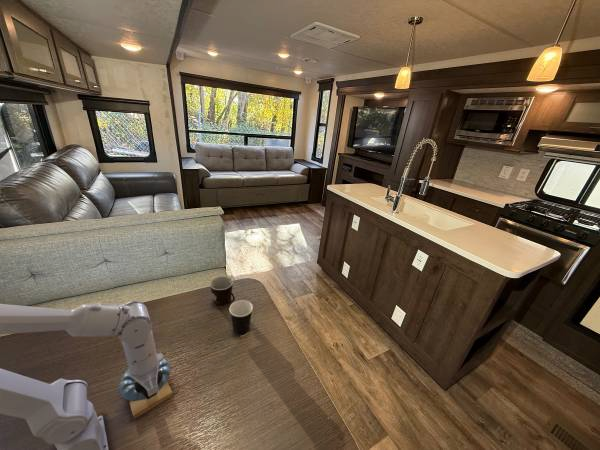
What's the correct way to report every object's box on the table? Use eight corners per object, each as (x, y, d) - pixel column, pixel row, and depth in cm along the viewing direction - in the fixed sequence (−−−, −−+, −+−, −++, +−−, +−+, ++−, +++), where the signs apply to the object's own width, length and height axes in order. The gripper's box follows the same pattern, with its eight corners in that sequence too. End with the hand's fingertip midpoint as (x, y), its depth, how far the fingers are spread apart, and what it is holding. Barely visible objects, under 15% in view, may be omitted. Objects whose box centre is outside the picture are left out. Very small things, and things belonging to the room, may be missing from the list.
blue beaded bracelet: (176, 382, 65) (175, 375, 64) (126, 414, 57) (124, 406, 56) (162, 354, 72) (160, 347, 71) (116, 379, 65) (113, 371, 63)
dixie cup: (254, 337, 86) (255, 313, 82) (231, 343, 83) (230, 318, 79) (250, 321, 93) (250, 298, 89) (228, 325, 90) (227, 302, 86)
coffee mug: (210, 298, 102) (208, 278, 98) (231, 294, 106) (230, 274, 102) (213, 318, 93) (212, 297, 89) (236, 312, 96) (236, 292, 92)
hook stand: (172, 395, 67) (169, 380, 64) (134, 419, 61) (129, 403, 58) (162, 370, 73) (159, 356, 70) (126, 390, 67) (121, 375, 64)
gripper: (170, 363, 54) (176, 402, 59) (151, 323, 63) (158, 360, 69) (132, 383, 49) (143, 423, 55) (118, 337, 59) (129, 375, 64)
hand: (149, 389), depth 62 cm, fingers closed on blue beaded bracelet, 3 cm apart
